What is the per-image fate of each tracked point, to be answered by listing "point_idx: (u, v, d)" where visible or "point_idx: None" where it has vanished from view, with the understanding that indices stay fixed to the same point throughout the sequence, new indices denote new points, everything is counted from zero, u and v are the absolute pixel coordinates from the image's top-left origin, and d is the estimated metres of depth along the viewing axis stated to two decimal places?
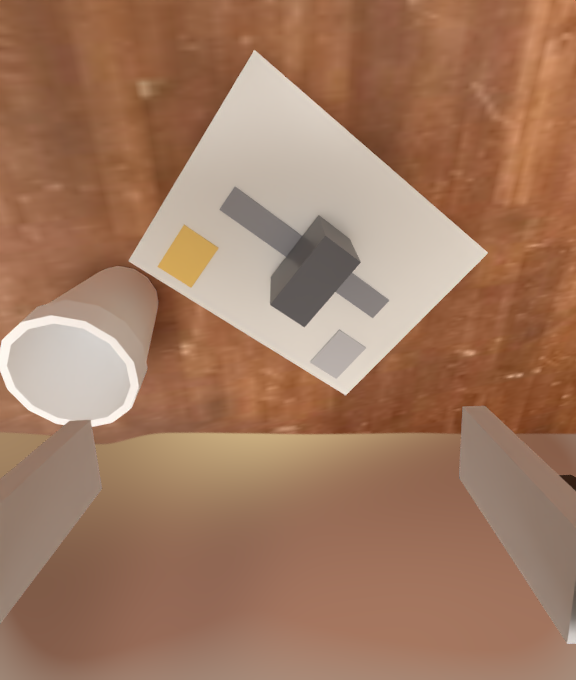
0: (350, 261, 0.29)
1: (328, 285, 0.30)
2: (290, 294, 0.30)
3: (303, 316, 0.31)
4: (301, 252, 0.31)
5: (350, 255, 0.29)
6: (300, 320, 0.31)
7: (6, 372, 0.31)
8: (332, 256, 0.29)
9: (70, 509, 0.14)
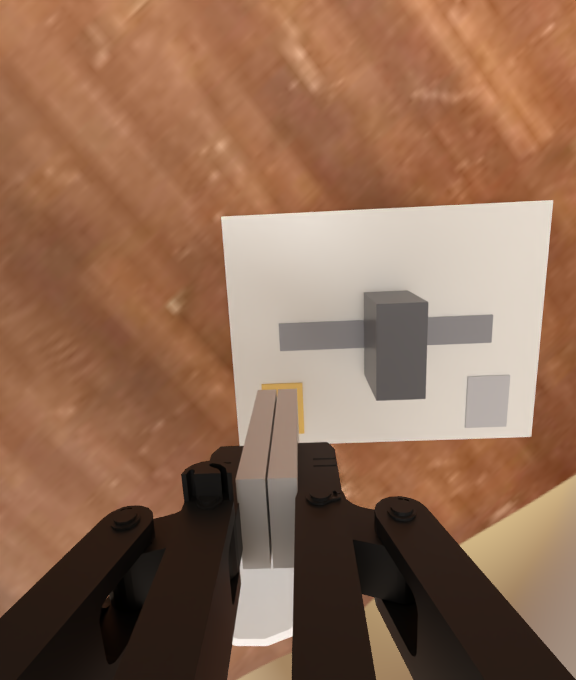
0: (417, 308, 0.26)
1: (415, 344, 0.26)
2: (387, 378, 0.27)
3: (416, 389, 0.27)
4: (370, 334, 0.28)
5: (413, 303, 0.26)
6: (416, 395, 0.27)
7: None
8: (397, 316, 0.26)
9: None
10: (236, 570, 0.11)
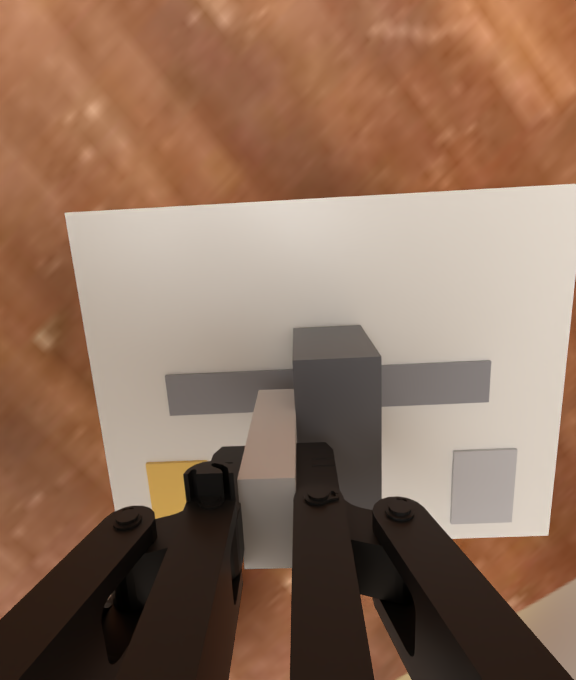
0: (363, 367, 0.15)
1: (362, 425, 0.16)
2: None
3: (365, 497, 0.16)
4: None
5: (356, 359, 0.15)
6: (366, 506, 0.16)
7: None
8: (329, 381, 0.15)
9: None
10: (238, 569, 0.11)
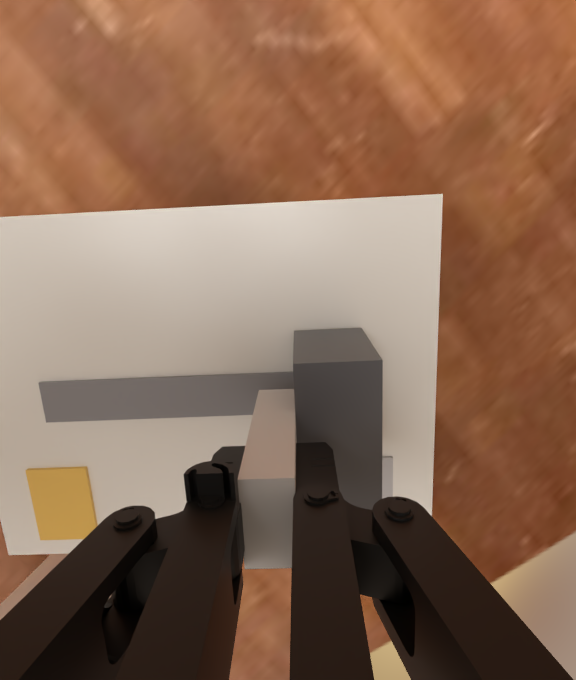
0: (364, 370, 0.15)
1: (362, 429, 0.15)
2: None
3: (365, 501, 0.16)
4: None
5: (357, 362, 0.15)
6: None
7: None
8: (330, 384, 0.15)
9: None
10: (238, 569, 0.11)
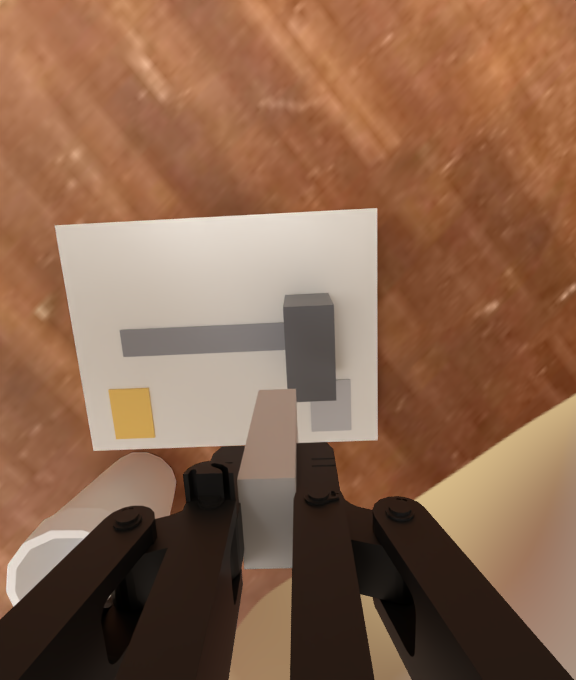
0: (323, 310, 0.26)
1: (323, 346, 0.27)
2: (297, 379, 0.27)
3: (326, 391, 0.27)
4: None
5: (319, 306, 0.26)
6: (327, 396, 0.27)
7: None
8: (304, 319, 0.26)
9: None
10: (238, 570, 0.11)
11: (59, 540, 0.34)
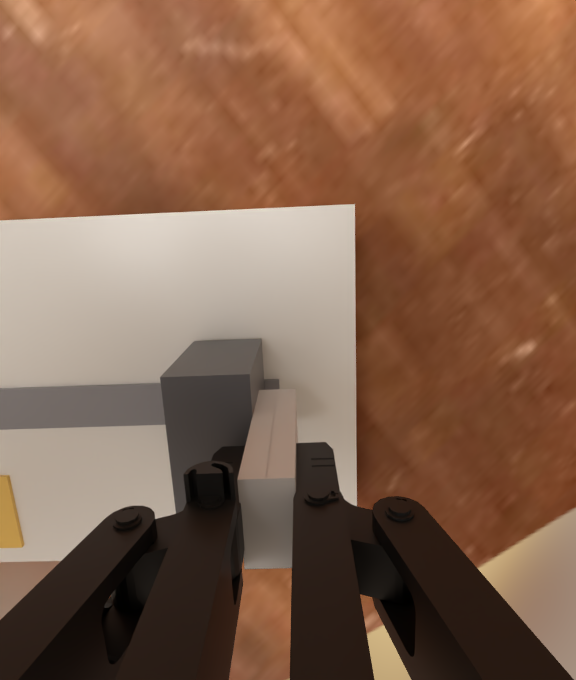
0: (231, 384, 0.15)
1: (234, 443, 0.15)
2: None
3: None
4: None
5: (224, 376, 0.15)
6: None
7: None
8: (199, 398, 0.15)
9: None
10: (238, 569, 0.11)
11: None
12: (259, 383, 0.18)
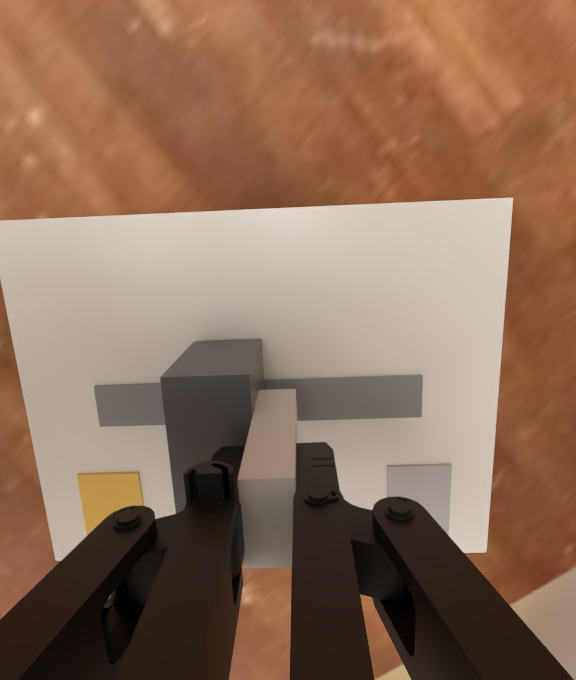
0: (231, 384, 0.15)
1: (234, 443, 0.15)
2: None
3: None
4: None
5: (224, 376, 0.15)
6: None
7: None
8: (199, 398, 0.15)
9: None
10: (238, 569, 0.11)
11: None
12: (259, 383, 0.18)
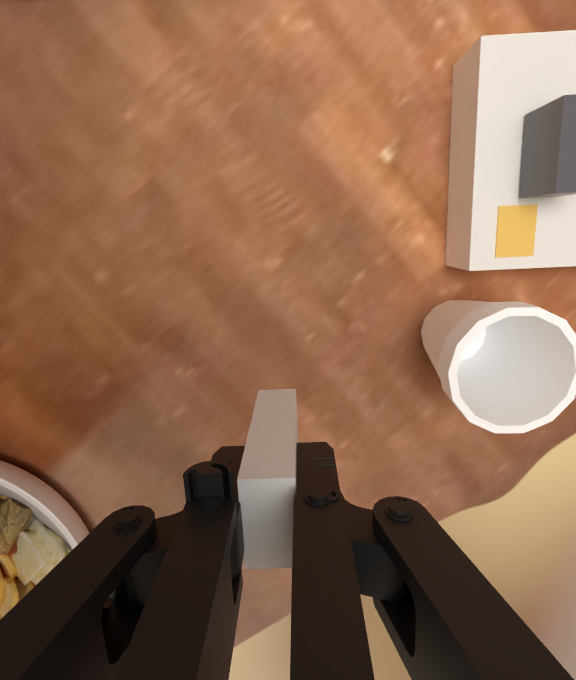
0: None
1: None
2: (567, 169, 0.29)
3: None
4: (543, 139, 0.31)
5: None
6: None
7: (462, 404, 0.32)
8: None
9: None
10: (238, 569, 0.11)
11: None
12: None
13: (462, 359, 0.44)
